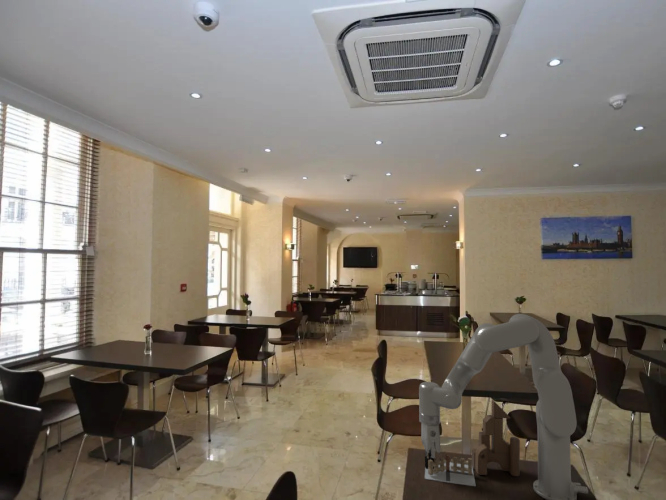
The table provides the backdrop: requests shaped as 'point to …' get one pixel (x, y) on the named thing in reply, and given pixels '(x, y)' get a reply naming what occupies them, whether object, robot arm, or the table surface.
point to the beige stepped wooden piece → (436, 465)
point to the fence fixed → (462, 465)
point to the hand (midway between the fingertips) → (429, 467)
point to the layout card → (452, 476)
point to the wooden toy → (496, 445)
